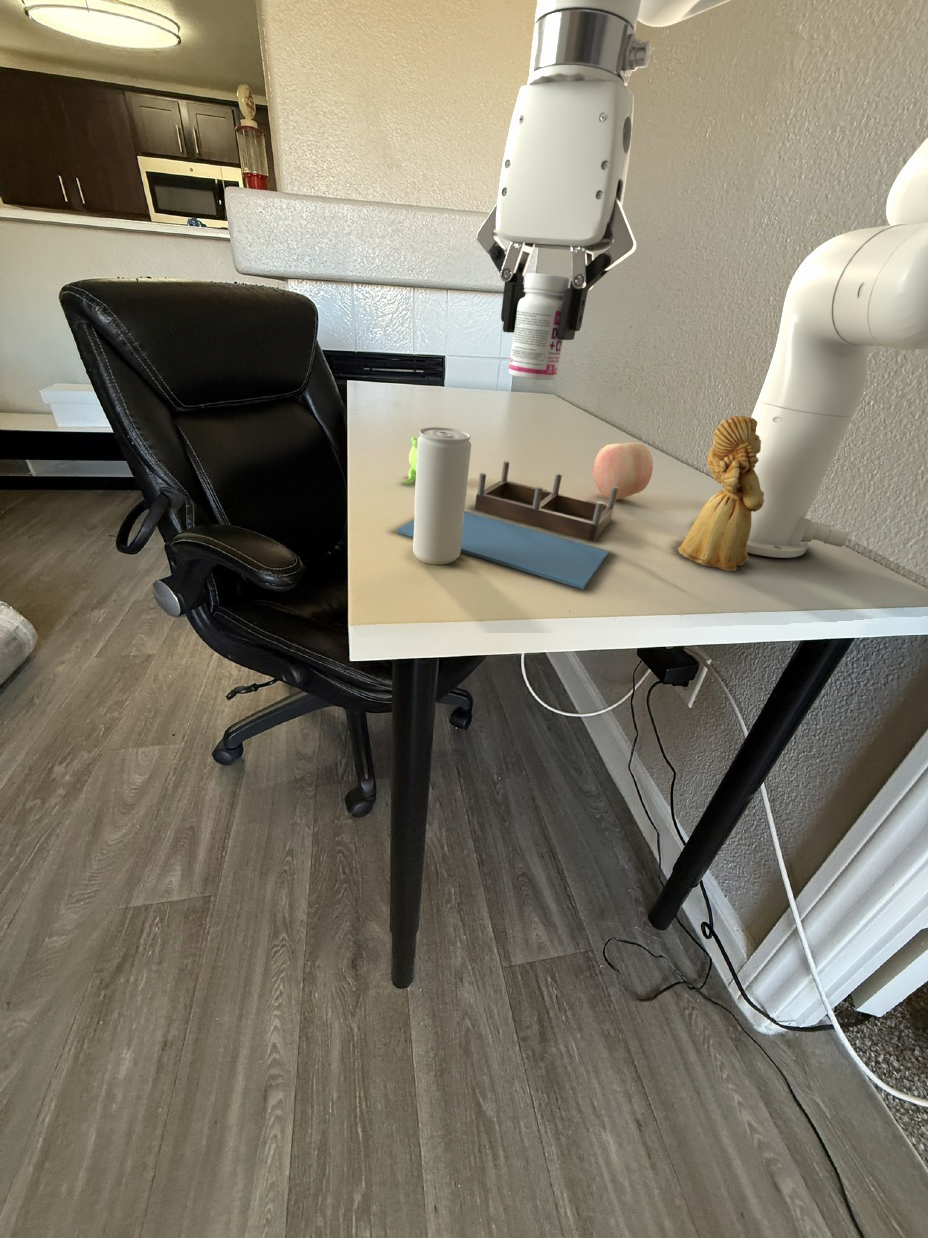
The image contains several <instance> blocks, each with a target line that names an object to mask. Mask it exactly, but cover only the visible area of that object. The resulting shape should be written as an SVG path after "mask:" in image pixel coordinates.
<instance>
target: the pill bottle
mask: <svg viewBox="0 0 928 1238" xmlns="http://www.w3.org/2000/svg"><path fill="white" fill-rule="evenodd" d="M569 283H570V278H569V277H566V276H560V275H554V274H547V273H536V272H535V273H534V272H527V273H525V275H524V282H523V284H524V290H523V292H525V296H524V297H523V298H521V299H520V300H519V302H518V305H517V312H516V320H515V328H514V333H513V337H512V345H511V351H510V358H509V363H508V364H509V365H508V373H509V374H510V375H511V376H514V377H517V378H522V379H529V380H536V381H552V380H556V378H557V375H558V369H559V363H560V358H561V353H562V346H563V342H564V340H560V339H559V338H558V337H557V334H558V328H559V322H560V316H561V310H562V304H563V298H564V292H565V290H567V288H569Z"/></svg>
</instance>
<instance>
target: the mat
mask: <svg viewBox="0 0 928 1238" xmlns="http://www.w3.org/2000/svg"><path fill="white" fill-rule="evenodd" d="M397 534H401V535H404V536H407V537H410V538H414V520H413V521H410V522H408V523H407V524H405V525H403V526H401V527H399V528H397ZM460 553H463V554H465V555H469V556H472V557H476V558H480V559H482V560H485V561H489V562H492V563H496V564H499V565H502V566H505V567H508V568H512V569H515V570H519V571H522V572H525V573H529V574H531V575H535V576H538V577H540V578H541V577H542V578H544V579H548V580H551V581H555V582H557V583H561V584H563V585H568V586H571V587H574V588H577V589H580V590H584V589H585V588H586V586H587V585H588V584H589V582H590V581H591V580H592V578H593V577H594V576H595V574H596V572H597V571H598V570H599V568H600V567H601V566H602V564H603V563H604V562H605V560H606V559H607V557H608V556H609V555H610V551H609V550H607V549H602V548H599V547H595V546H592V545H588V544H585V543H581V542H577V541H574V540H570V539H566V538H563V537H559V536H556V535H552V534H548V533H545V532H542V531H538V530H533V529H530V528H526V527H522V526H519V525H515V524H512V523H508V522H504V521H501V520H498V519H494V518H490V517H486V516H483V515H479V514H475V513H473V512H468V511H466V510H465V511H464V521H463V531H462V541H461V551H460Z"/></svg>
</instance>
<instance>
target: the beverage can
mask: <svg viewBox="0 0 928 1238" xmlns="http://www.w3.org/2000/svg"><path fill="white" fill-rule="evenodd" d="M419 435H420V436H418V438H417V440H418V441H417V462H416V479H415V486H414V487H415V488H414V513H413V515H414V517H413V521H414V537H412V538H413V539H412V553H413V554H414V556H415V557H416V559H418V560H419V561H421V562H423V563H426V564H429V565H440V566H441V565H442V566H443V565H448V564H451V563H454V562H455V561H456V560H457V559H458V558H459V557H460V555H461V552H460V551H461V541H462V531H463V521H464V511H465V512H466V501H467V493H468V492H467V490H468V480H469V470H470V462H471V461H470V460H471V449H472V442H471V441H470V439H471V435H470V433H469V432H466V431H465V430H464V431H463V430H460V429H456V428H452V427H451V428H450V427H443V426H442V427H440V426H433V427H431V426H430V427H424V428H421V429H420V430H419Z"/></svg>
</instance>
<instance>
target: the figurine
mask: <svg viewBox="0 0 928 1238" xmlns="http://www.w3.org/2000/svg"><path fill="white" fill-rule="evenodd" d="M717 425H718V426H717V427H716V429H715V430H714V431H715V432H714V433H713V436H712V447H711V448H710V449H709V452H708V454H707V459H706V462H707V463H706V464H707V468H708V470H709V471H710V474H711V475H712V478H713V479H714V480H715V482H717V483H718V484H721V486H722V488H723V489H721V490H719V491H718V492H717V491H716V493H715V494H714V495H712V496H711V497H710V498H709V499H708V500H707V502H706V503H705V505H704V506H703V508H702V509H701V510H700V512H699V514H698V515H697V517H696V519H695V520H694V522H693V524H692V525H691V528H690V529H689V531H688V533H687V535H686V537H685V538H684V539H683V541H682V542H681V545H680V546H678V548H677V550H678V553H679V554H680V555H681V556H682V557H684V558H686V559H688V560H690V561H692V562H695V563H697V564H699V565H701V566H703V567H708V568H715V569H716V568H717V569H718V570H723V571H726V572H734V571H737V568H738V567H737V566H743V565H745V563H746V562H747V561H748V560H749V553H747V551H746V545H747V541H748V538H749V535H750V530H751V512H752V511H753V512H756V511H758V510H759V509H761V508H762V505H763V503H764V497H763V496H764V492H762V491H761V489H760V483H759V479H758V476H757V474H756V473H755V470H754V468H755V464H756V463H757V462H758V461H759V460H758V457H756V454H758V453H760V452H761V440H760V439H759V436H758V435H756V427H757V421H756V420H755V419H754V418H751V417H750V416H746V415H742V416H741V415H734V416H731V417H728V418H727V419H725V420H723V421H722V422H721V423H719V424H717Z"/></svg>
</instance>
